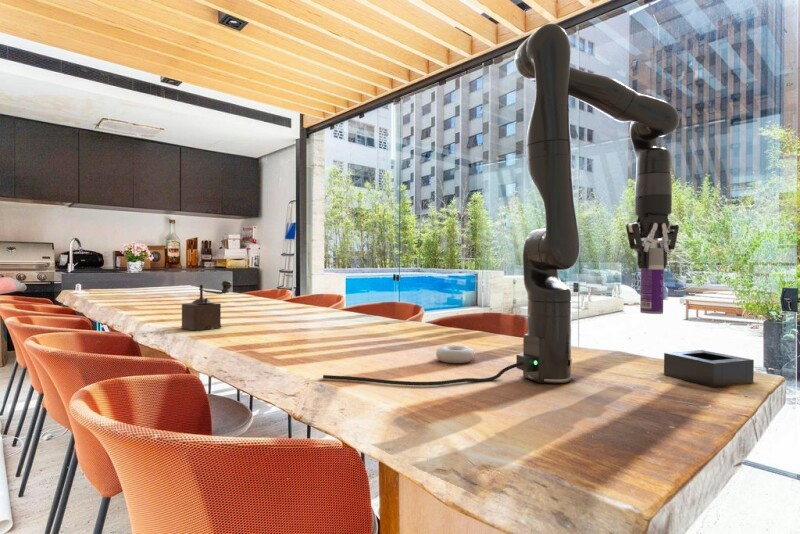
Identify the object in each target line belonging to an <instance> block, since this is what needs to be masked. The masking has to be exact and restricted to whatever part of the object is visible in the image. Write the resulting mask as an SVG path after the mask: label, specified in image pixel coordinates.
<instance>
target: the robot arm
mask: <svg viewBox="0 0 800 534" xmlns="http://www.w3.org/2000/svg"><path fill="white" fill-rule="evenodd" d="M571 53H572V50H571V41H570V38H569V36H568V34H567V32H566V30H565V29H564V28H562V26H560V25H558V24H556V23H546V24H544V25H542V26H540V27H539V28H537V29H536V30H535V31H533V32H532V33H531V34H530V35H529V36H528V37H527V38H526V39H525V40H524V41H523V42H522V43H521V44H520V45H518V48H517V49H516V51H515V54H514V60H513V61H514V66H515V69H516V70H517V72H518V74H520V76H522V77H523V78H525V79H526V80H528V81H531V82H532V83H535V98H534V103H533V107H532V111H531V114H530V119H529V122H528V126H527V131H526V137H525V138H526V139H525V149H526V164H527V171H528V173H529V176H530V179H531V181H532V183H533V184H534V186H535V188H536V190H537V192H538V193H539V195H540V197H541V201H542V202H543V207H544V212H545V213H544V216H545V228H544V227H543V228H538V229H534V230H532V231H530V232H529V234H528V235H527V236H526V238H525V240H524V242H523V247H522V266H523V267H522V268H523V269H522V271H523V285H524V288H525V291H526V293H527V294H526V295H527V323H526V324H527V327H526V328H527V332H526V333H524V334H523V339H522V340H523V342H522V343H523V347H522V353H520V354H516V357H515V358H516V359H515V360H516V363H513V364H510V365H508V366H505V367H504V368H502V369H500V371H498V373H496V374H495V375H493V376H490V377H481V378H479V377H477V378H475V377H462V378H453V379H446V380H438V381H437V380H435V381H408V380H407V381H406V380H391V379H381V378H373V377H372V378H371V377H362V376H350V375H349V376H348V375H331V374H330V375H329V374H323V375H322V379H325V380H339V381H340V380H342V381H355V382H356V381H357V382H367V383H374V384H375V383H377V384H384V385H386V384H387V385H397V386H398V385H399V386H416V387H417V386H418V387H420V386H422V387H423V386H424V387H426V386H443V385H451V384H459V383H482V382H483V383H484V382H492V381H495V380H497V379H499V378H500V377H501V376H502V375H503V374H504V373H505V372H507V371H510V370H512V369H515V368H516V369H518V370H520V371H522V377H523V378H525V379H528V380H530V381H533V382H536V383H538V384H565V383H569V382H571V381H572V374H571V373H572V365H573V358H572V289H571V288H570V287H568V285H566V284H564V283H563V282H562V281H561V279H560V277H559V271H566V270H567V271H568V270H569V269H571V268H573V267H574V266H575V265H576V264H577V262H578V259H579V256H580V252H581V251H580V250H581V241H580V233H579V227H578V219H577V213H576V207H575V206H576V205H575V198H574V184H573V170H572V168H573V165H572V164H573V163H572V162H573V161H572V160H573V159H572V140H571V139H572V138H571V126H570V97H571V98H574V99H576V100H578V101H581V102H583V103H585V104H587V105H589V106H591V107H592V108H594V109H596V110H598V111H599V112H600V113H603V114H604V115H606V116H607V117H609V118H611V119H613V120H615V121H616V122H619V123H627V122H629V123H630V125H629V136H630V141H631V144H632V148H633V152H634V156H635V158H636V164H635V165H636V169H635V171H636V172H635V184H634V215H635V216H636V217H637V218H636V221H635V222H633V223H627V224H626V225H625V229H626V234H627V239H628V244H629V248H630V250H634V251H635V252H636V253H637V266H638V268H639V269H640V270H641V269H648V268H649V253H647V252H648V250H649V248H650V246H651V244H654V246H655V247H654V248H663V257H664V270H665V269H666V268H667V266H668V252H670V251H671V250H675V248H676V243H677V238H678V233H679V230H680V226H679V224H671V223H670V221H669V215H671V214H672V212H673V211H672V207H673V206H672V205H673V203H672V201H673V200H672V199H673V196H672V195H673V192H672V191H673V183H672V182H673V181H672V175H671V173H672V157H671V156H672V155H671V151H670V150H669V148H665V147H659V144H658V139H659V138H662V137H665V136H668V135H670V134H672V133H673V132H675V131H676V129H677V128H678V127H679V124H680V119H681V118H680V114H679V112H678V110H677V109H676V108H675V107H674V106H673V105H672V104H671V103H669V102H667V101H665V100H662V99H659V98H656V97H653V96H651V95H647V94H642V93H639V92H637V91H636V90H634V89H632V88H630V87H629V86H628V85H626V84H624V83H623V82H621V81H619V80H618V79H615V78H612V77H610V76H607V75H604V74H599V73H594V72H589V71H586V70H582V69H578V68H576V67H574V66H571Z"/></svg>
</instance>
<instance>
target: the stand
mask: <svg viewBox="0 0 800 534" xmlns="http://www.w3.org/2000/svg"><path fill="white" fill-rule="evenodd" d="M754 362H755V360H754V359H752V358H746V357H741V356H735V355H732V354H731V355H730V354H725V353H721V352H715V351H711V350H706V349H705V350H704V349H698V350H685V351H684V350H683V351H674V352H664V353H663V375H665V376H668V377H672V378H674V379H675V378H676V379H679V380H684V381H687V382H691V383H695V384H698V385H703V386H706V387H710V388H720V387H729V386H738V385H745V384H746V385H748V384H753V383H754V368H755V365H754V364H755V363H754Z"/></svg>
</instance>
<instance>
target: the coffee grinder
mask: <svg viewBox="0 0 800 534" xmlns="http://www.w3.org/2000/svg"><path fill="white" fill-rule="evenodd" d="M221 286H222V288H221V289H222V290H221V291H216V290H208V289H205V288H204V285H203V284H199V288H198V290H199V298H196V299H195V300H193V301H192V302H189V303H187V302H186V303H181V329H182V328H183V330H186V331H188V330H189V331H193V332H198V331H199V332H200V331H206V330H208V331H209V330H214V329H220V328H222V326H221V322H222V321H221V314H222V313H221V310H222V309H221V307H222V306H221V305H222V304H221V303H220V302H219V303H217V302H212V301H211V300H209V299H208V298H204V296H203V295H204V293H210V294H215V295H216V294H217V295H222V294H223V295H225V294H229V293H230V289H231V288H232V287H233V283H232V281H231V280H226V279H225V280H222V282H221Z"/></svg>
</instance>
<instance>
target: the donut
mask: <svg viewBox="0 0 800 534" xmlns="http://www.w3.org/2000/svg"><path fill="white" fill-rule="evenodd" d="M435 351H436V352H435V356H436V358H437V360H438V361H440V362H442V363H446V364H467V363H470V362H471V361H473V360H474V359H475V352H474V349H472V348H470V347H469V346H464V345H443V346H440V347H438V348H437V349H436V350H435Z"/></svg>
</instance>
